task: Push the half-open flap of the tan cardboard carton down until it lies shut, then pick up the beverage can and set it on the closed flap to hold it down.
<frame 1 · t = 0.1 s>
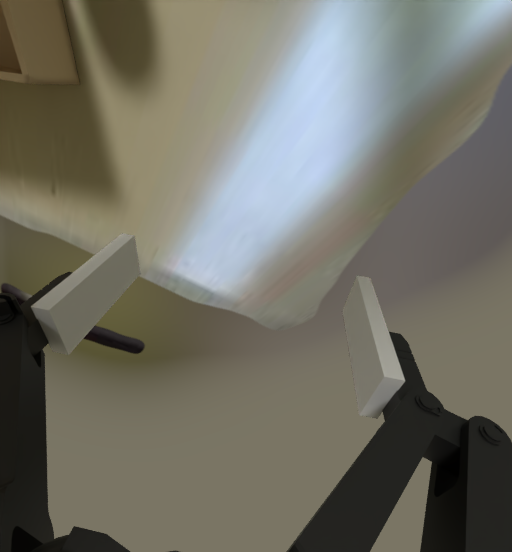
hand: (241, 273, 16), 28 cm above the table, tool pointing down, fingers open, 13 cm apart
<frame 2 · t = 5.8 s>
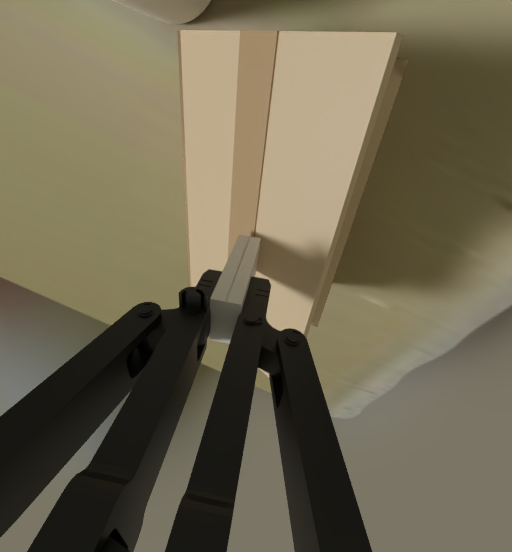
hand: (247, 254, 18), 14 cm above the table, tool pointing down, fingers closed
carton: (278, 188, 29), on the table
lid: (241, 236, 20), point 12 cm above the table, hinge at 36.2°, touching gripper
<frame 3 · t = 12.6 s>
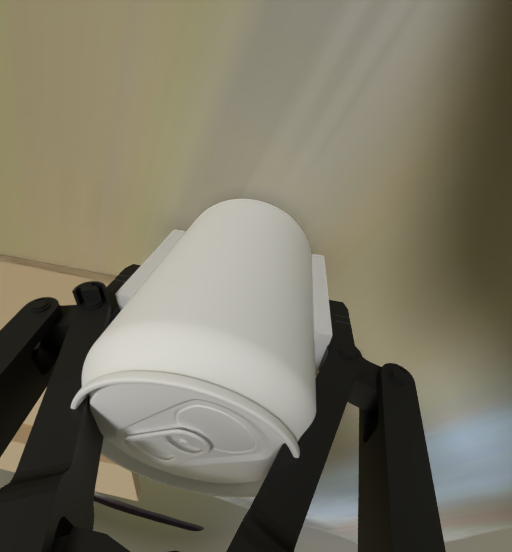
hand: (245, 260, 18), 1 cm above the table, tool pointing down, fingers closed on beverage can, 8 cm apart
carton: (66, 321, 25), on the table
beverage can: (249, 253, 18), on the table, touching gripper
when the fingers open (11 cm above the table, at t = 17.1 s): beverage can drops 1 cm, resting on lid.
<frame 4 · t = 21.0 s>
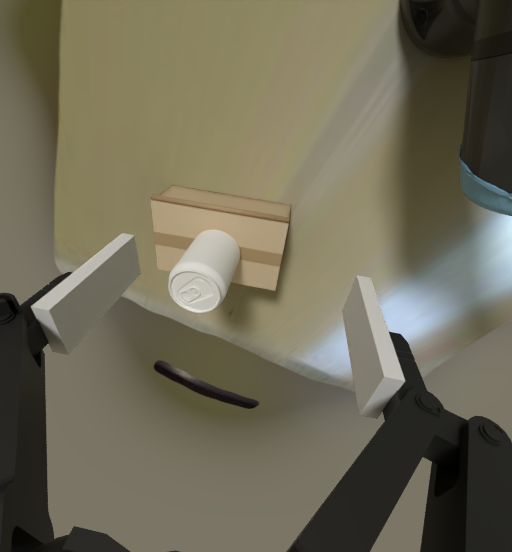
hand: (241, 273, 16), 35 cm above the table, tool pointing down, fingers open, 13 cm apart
carton: (228, 227, 53), on the table
lid: (218, 245, 46), point 8 cm above the table, hinge at 0.4°, touching beverage can
beverage can: (217, 249, 46), point 9 cm above the table, touching lid
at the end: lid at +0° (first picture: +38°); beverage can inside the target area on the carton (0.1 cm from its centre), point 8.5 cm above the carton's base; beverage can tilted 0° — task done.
